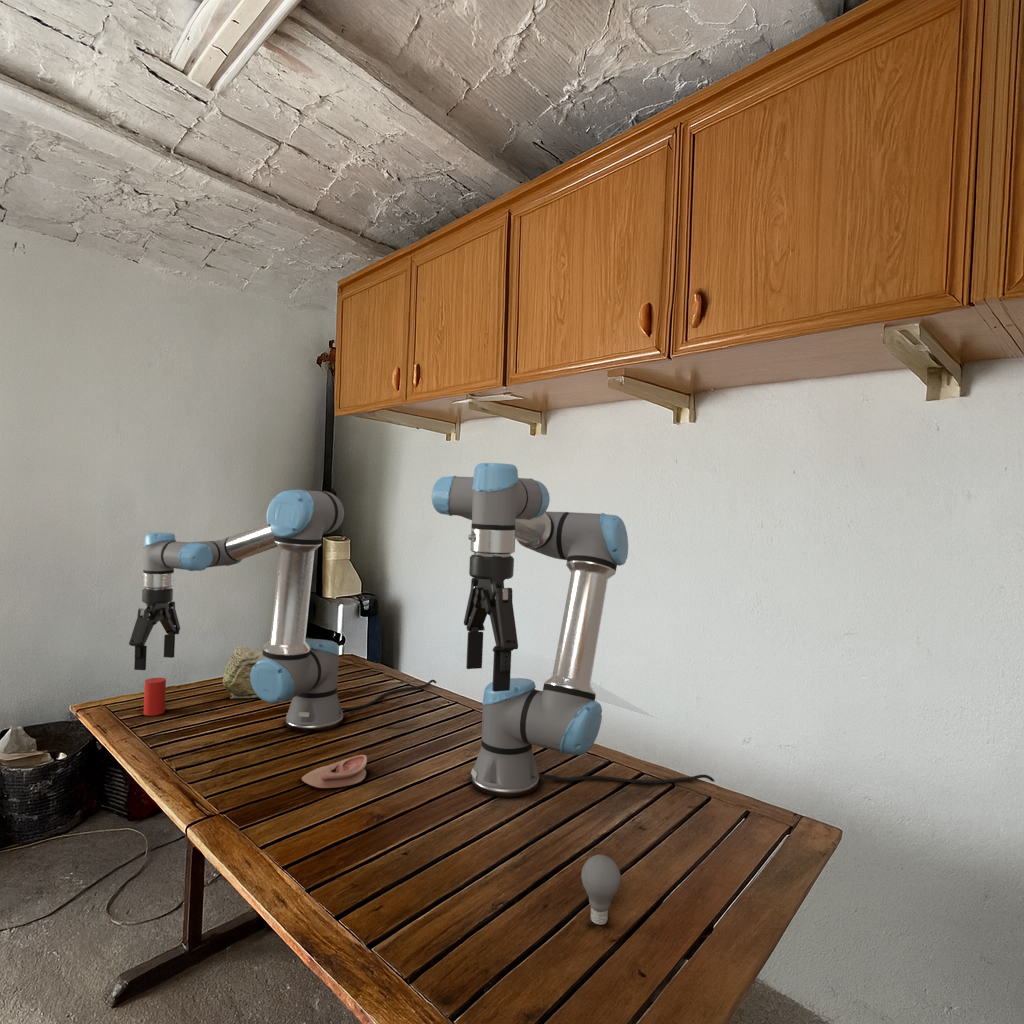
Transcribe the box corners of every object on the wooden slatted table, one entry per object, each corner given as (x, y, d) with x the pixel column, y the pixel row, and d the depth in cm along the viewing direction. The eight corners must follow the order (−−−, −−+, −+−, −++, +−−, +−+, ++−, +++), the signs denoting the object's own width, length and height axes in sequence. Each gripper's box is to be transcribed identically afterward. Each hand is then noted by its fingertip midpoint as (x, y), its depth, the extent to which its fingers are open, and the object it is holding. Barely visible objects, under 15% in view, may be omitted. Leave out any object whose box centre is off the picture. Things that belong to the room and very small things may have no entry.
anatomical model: (294, 766, 138) (320, 747, 150) (294, 784, 138) (320, 763, 150) (351, 774, 136) (373, 754, 147) (350, 792, 136) (372, 770, 147)
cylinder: (145, 710, 180) (146, 678, 180) (165, 708, 182) (166, 676, 182) (142, 716, 175) (143, 683, 175) (163, 714, 178) (164, 682, 177)
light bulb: (576, 909, 100) (578, 846, 100) (613, 909, 101) (616, 846, 100) (583, 935, 94) (586, 869, 94) (622, 935, 95) (626, 868, 94)
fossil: (218, 695, 195) (220, 647, 195) (278, 685, 208) (279, 640, 207) (228, 703, 189) (230, 653, 188) (289, 692, 201) (290, 645, 201)
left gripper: (170, 581, 190) (167, 651, 190) (115, 593, 165) (112, 674, 165) (194, 582, 189) (192, 653, 190) (143, 595, 164) (140, 676, 165)
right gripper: (450, 547, 118) (445, 661, 118) (497, 562, 94) (491, 703, 95) (488, 548, 120) (483, 659, 121) (542, 562, 97) (536, 699, 98)
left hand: (155, 663), depth 177 cm, fingers open, 13 cm apart
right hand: (486, 678), depth 108 cm, fingers open, 13 cm apart
